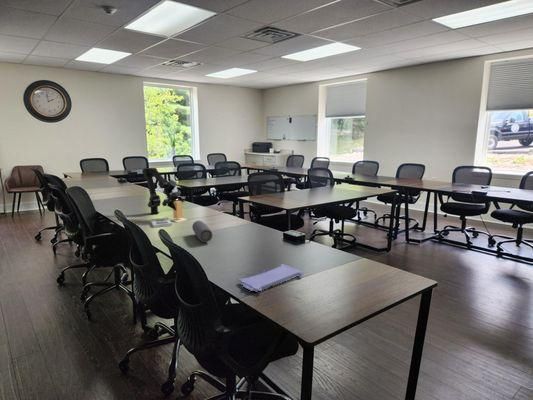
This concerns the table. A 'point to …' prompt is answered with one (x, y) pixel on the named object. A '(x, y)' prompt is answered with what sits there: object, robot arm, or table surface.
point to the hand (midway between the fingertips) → (178, 209)
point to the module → (178, 210)
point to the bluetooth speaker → (202, 231)
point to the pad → (178, 219)
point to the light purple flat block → (269, 277)
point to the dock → (160, 222)
